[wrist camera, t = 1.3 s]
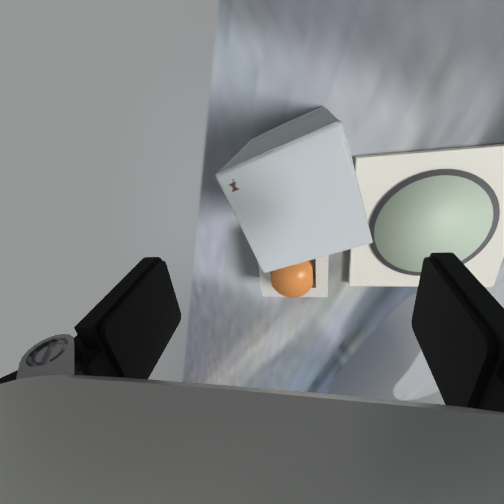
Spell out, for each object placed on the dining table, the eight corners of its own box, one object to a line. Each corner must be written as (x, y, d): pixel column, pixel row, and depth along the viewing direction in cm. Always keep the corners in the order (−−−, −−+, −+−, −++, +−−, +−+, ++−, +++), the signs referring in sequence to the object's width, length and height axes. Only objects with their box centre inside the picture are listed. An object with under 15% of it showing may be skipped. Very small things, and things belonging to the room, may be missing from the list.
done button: (272, 248, 29) (269, 263, 27) (312, 247, 28) (312, 263, 26) (275, 279, 31) (272, 297, 29) (312, 280, 30) (313, 297, 28)
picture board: (355, 156, 26) (357, 158, 25) (537, 140, 23) (546, 143, 22) (348, 281, 33) (349, 287, 32) (488, 282, 30) (494, 288, 29)
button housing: (260, 225, 31) (255, 240, 28) (326, 222, 30) (328, 238, 27) (266, 278, 34) (262, 296, 31) (326, 278, 33) (327, 297, 30)
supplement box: (277, 207, 30) (259, 277, 19) (249, 137, 27) (209, 172, 16) (349, 183, 27) (376, 246, 16) (327, 102, 24) (342, 116, 13)
